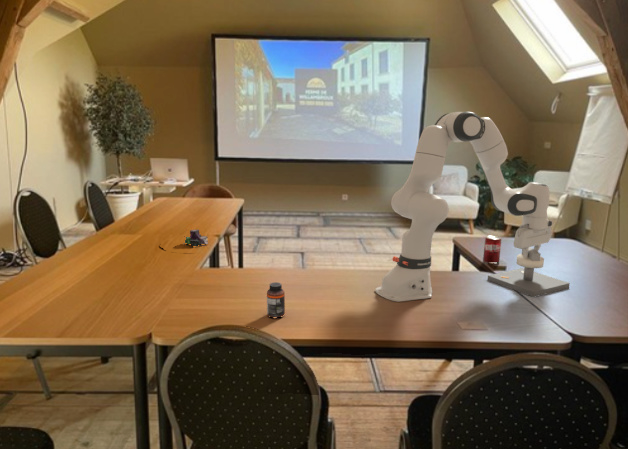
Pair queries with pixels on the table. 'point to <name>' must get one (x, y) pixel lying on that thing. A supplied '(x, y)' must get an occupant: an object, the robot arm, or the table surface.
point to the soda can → (492, 249)
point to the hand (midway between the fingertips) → (530, 255)
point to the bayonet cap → (530, 259)
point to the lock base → (528, 281)
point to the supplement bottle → (275, 300)
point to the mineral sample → (196, 238)
